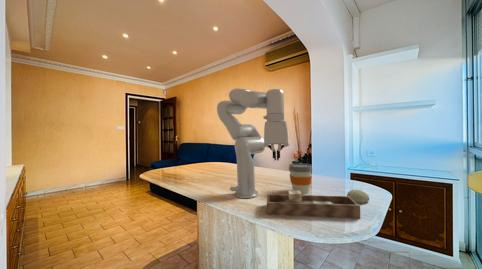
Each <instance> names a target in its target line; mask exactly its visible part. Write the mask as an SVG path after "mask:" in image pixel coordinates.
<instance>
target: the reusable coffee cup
mask: <svg viewBox="0 0 482 269" xmlns="http://www.w3.org/2000/svg"><path fill="white" fill-rule="evenodd" d="M288 166H289V167H288V170H289V179H290V183H291V187H292V189H291V190H297V191H300V192H301V194H302V195H308V194H310V187H311V184H312V180H313V179H312V177H313V176H312V172H313V165H312V164H309V163H305V162H304V163H301V162H299V163H296V162H295V163H290V164H289V165H288Z"/></svg>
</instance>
